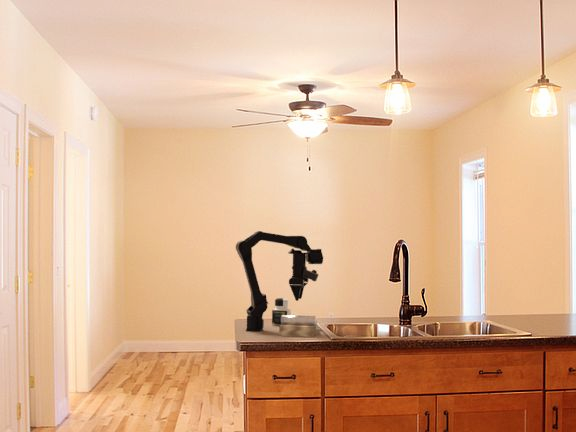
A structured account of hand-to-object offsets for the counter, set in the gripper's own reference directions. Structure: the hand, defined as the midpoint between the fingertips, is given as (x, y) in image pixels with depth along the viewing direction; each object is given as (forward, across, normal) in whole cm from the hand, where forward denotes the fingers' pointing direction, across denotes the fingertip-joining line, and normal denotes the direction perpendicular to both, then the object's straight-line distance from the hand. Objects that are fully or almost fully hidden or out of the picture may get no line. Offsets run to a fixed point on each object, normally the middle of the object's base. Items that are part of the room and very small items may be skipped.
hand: (298, 299), depth 301 cm
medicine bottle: (+13, +14, +10) cm, 22 cm away
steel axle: (+7, -14, -2) cm, 16 cm away
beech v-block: (+13, -14, -2) cm, 20 cm away
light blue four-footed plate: (+13, -2, -2) cm, 13 cm away
